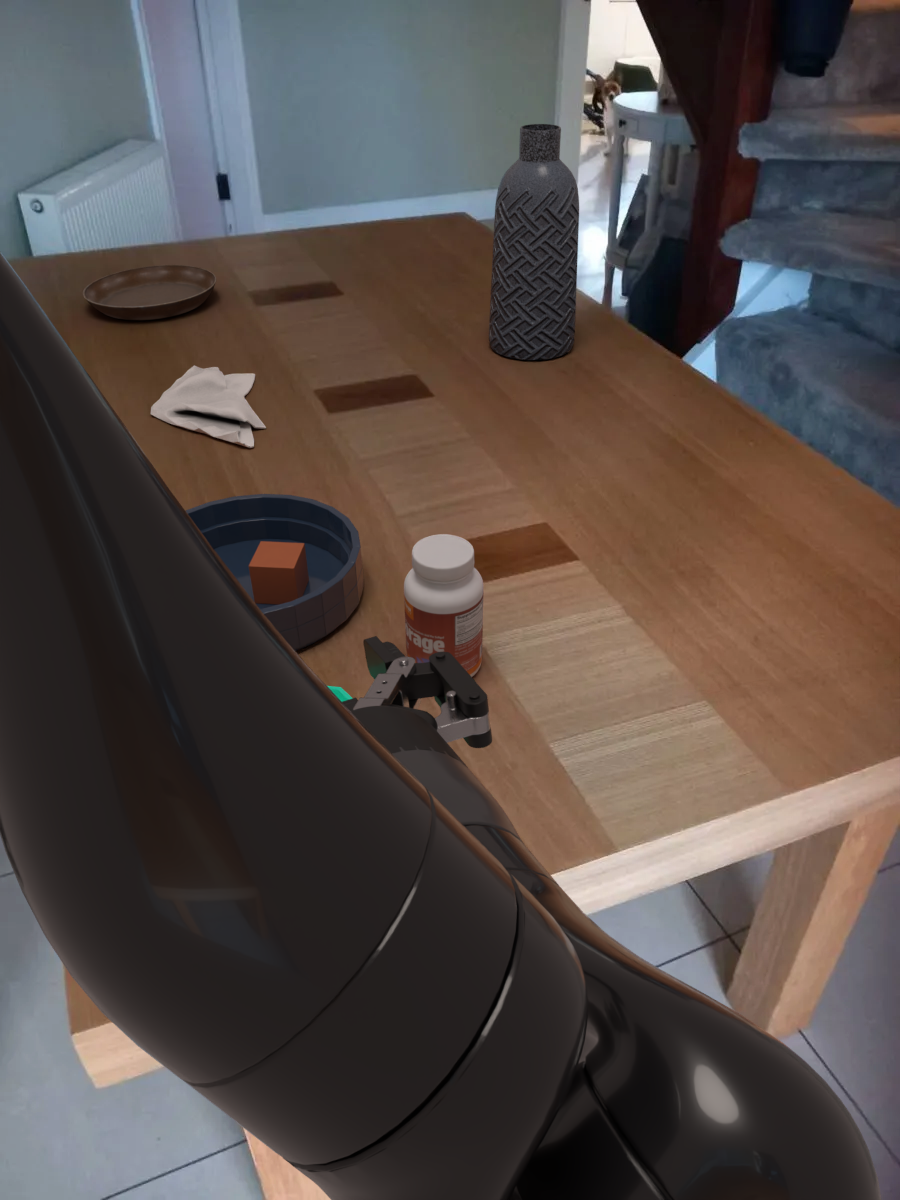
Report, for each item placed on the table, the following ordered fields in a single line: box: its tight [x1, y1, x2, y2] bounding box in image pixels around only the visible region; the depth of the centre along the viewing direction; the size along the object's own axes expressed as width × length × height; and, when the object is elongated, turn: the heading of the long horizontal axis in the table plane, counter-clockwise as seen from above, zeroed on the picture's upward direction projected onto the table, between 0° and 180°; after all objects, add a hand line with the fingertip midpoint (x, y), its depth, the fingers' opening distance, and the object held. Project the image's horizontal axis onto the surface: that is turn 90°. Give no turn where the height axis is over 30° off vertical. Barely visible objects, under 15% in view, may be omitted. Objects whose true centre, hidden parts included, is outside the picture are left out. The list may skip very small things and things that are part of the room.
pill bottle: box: [403, 533, 485, 678], centre depth 72 cm, size 6×6×11 cm
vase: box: [488, 123, 580, 361], centre depth 123 cm, size 12×12×28 cm
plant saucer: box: [82, 264, 217, 321], centre depth 147 cm, size 21×21×3 cm
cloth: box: [150, 364, 267, 449], centre depth 115 cm, size 26×14×2 cm, turn 13°
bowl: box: [184, 493, 365, 652], centre depth 82 cm, size 19×19×5 cm
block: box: [249, 541, 309, 605], centre depth 81 cm, size 4×4×4 cm
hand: (296, 674), depth 50 cm, fingers open, 8 cm apart
